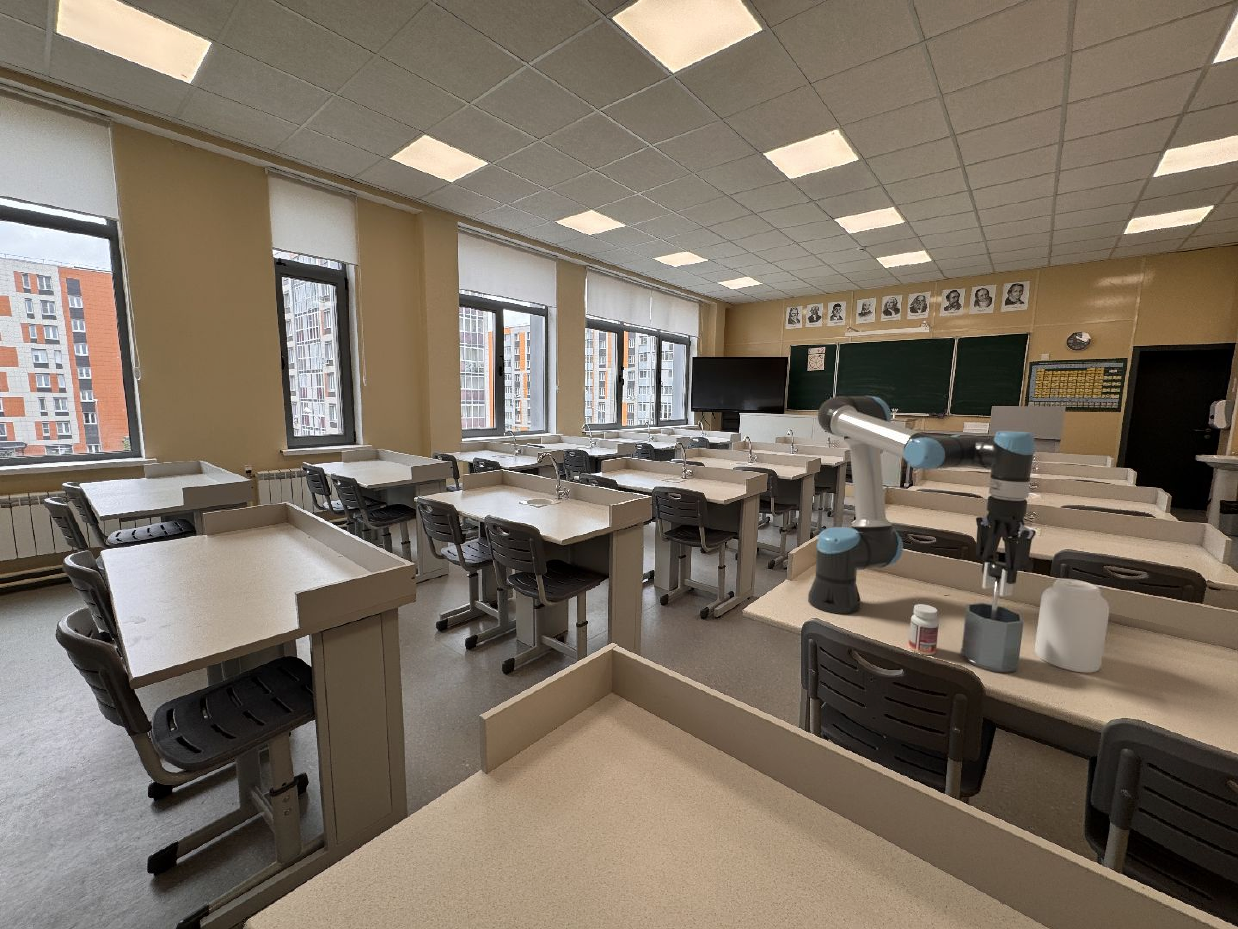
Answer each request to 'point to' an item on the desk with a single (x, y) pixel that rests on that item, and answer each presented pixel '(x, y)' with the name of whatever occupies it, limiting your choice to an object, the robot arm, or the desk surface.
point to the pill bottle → (924, 629)
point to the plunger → (996, 583)
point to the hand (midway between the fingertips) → (996, 591)
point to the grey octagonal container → (992, 638)
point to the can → (1072, 626)
